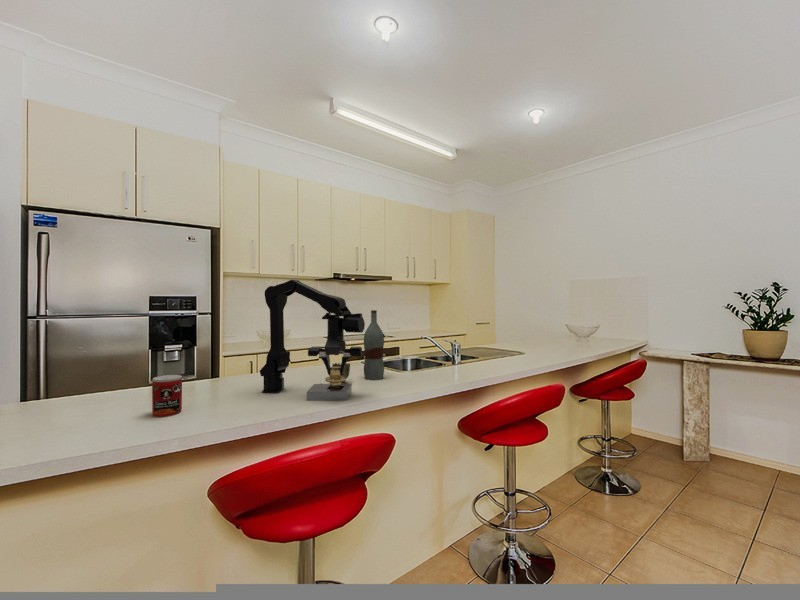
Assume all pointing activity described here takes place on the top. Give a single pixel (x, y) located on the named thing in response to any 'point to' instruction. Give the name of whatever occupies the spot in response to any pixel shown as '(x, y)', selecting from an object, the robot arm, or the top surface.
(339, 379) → the brass bushing
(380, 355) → the bottle
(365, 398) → the top surface
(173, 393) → the canned food
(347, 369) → the cup
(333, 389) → the block
